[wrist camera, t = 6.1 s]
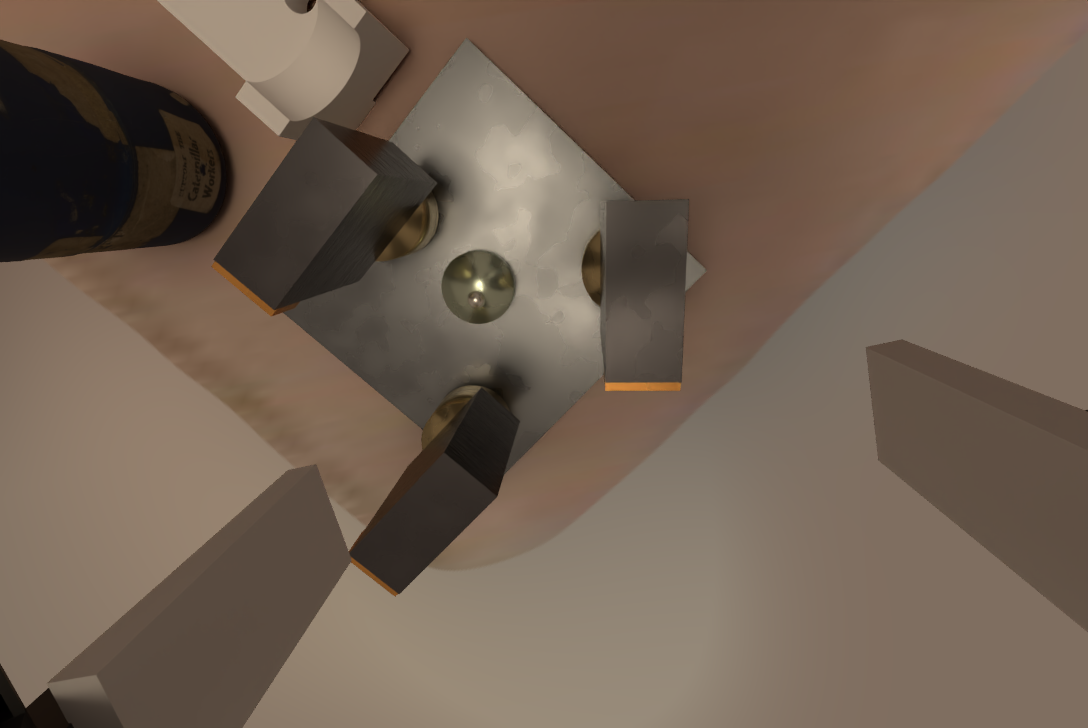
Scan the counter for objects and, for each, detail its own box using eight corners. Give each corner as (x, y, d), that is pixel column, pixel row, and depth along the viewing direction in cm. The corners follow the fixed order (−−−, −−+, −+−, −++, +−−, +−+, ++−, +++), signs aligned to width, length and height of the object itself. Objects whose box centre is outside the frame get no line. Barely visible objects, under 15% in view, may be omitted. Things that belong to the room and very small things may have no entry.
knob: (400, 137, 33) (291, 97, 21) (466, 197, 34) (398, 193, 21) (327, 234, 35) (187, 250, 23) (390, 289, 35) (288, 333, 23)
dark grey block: (581, 203, 33) (579, 202, 21) (668, 200, 33) (716, 198, 21) (582, 327, 35) (580, 392, 23) (664, 326, 35) (706, 392, 23)
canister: (61, 153, 36) (-432, 105, 18) (156, 47, 34) (-299, -120, 16) (172, 274, 37) (-185, 335, 20) (269, 180, 35) (-35, 157, 18)
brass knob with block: (479, 358, 36) (425, 437, 24) (537, 409, 37) (514, 511, 25) (409, 436, 38) (325, 546, 26) (465, 483, 39) (410, 612, 26)
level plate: (469, 41, 32) (461, 30, 30) (704, 268, 35) (712, 273, 33) (275, 298, 37) (256, 304, 35) (493, 481, 40) (488, 497, 38)
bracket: (414, 54, 33) (366, 11, 26) (342, 150, 35) (278, 136, 27) (233, -120, 31) (126, -218, 24) (167, -9, 33) (49, -70, 26)
